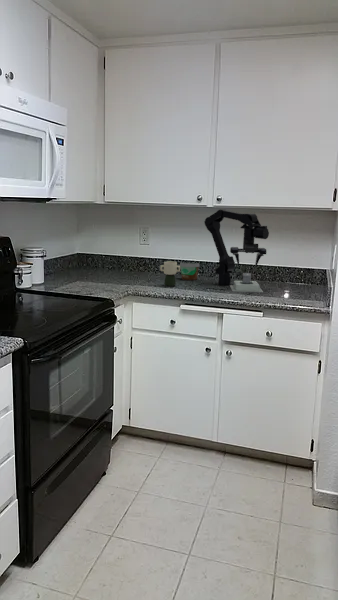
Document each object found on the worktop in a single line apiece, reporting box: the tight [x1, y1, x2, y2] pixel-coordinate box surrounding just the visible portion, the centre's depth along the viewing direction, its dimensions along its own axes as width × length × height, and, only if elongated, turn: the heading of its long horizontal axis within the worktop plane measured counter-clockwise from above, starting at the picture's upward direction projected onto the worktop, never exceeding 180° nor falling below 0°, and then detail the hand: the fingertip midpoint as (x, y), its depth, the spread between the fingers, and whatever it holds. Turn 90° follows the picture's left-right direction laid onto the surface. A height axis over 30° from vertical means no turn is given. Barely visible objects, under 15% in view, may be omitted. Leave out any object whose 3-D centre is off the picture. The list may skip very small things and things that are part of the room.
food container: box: [179, 261, 200, 281], centre depth 287 cm, size 12×6×10 cm, turn 65°
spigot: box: [241, 272, 252, 284], centre depth 263 cm, size 4×4×8 cm
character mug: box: [159, 260, 181, 287], centre depth 268 cm, size 11×7×13 cm, turn 86°
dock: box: [229, 280, 264, 294], centre depth 263 cm, size 16×16×4 cm
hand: (247, 266), depth 264 cm, fingers open, 9 cm apart
